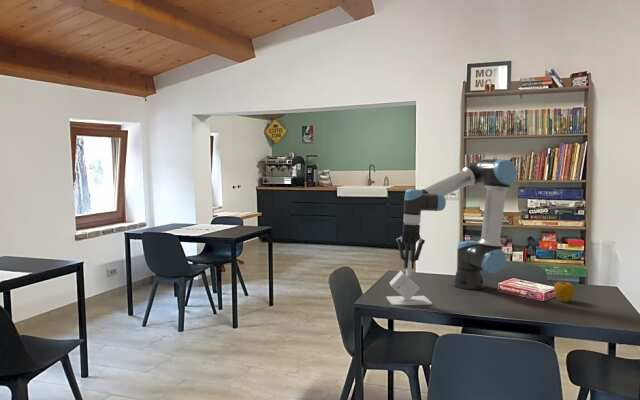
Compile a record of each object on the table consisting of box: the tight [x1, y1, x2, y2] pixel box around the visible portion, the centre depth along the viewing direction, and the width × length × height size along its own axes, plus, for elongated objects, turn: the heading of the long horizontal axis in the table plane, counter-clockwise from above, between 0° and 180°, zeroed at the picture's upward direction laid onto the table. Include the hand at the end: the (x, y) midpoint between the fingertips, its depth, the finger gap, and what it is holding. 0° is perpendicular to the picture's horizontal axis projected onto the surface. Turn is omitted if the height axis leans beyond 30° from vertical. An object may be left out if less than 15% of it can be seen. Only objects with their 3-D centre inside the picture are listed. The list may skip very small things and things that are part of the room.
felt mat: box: [385, 295, 433, 306], centre depth 215 cm, size 18×12×1 cm, turn 95°
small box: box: [389, 270, 420, 301], centre depth 215 cm, size 8×6×10 cm
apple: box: [553, 281, 576, 303], centre depth 216 cm, size 9×8×9 cm
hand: (408, 275), depth 214 cm, fingers closed
